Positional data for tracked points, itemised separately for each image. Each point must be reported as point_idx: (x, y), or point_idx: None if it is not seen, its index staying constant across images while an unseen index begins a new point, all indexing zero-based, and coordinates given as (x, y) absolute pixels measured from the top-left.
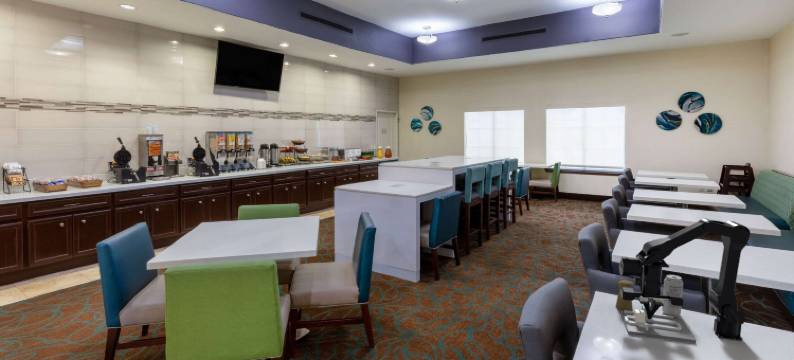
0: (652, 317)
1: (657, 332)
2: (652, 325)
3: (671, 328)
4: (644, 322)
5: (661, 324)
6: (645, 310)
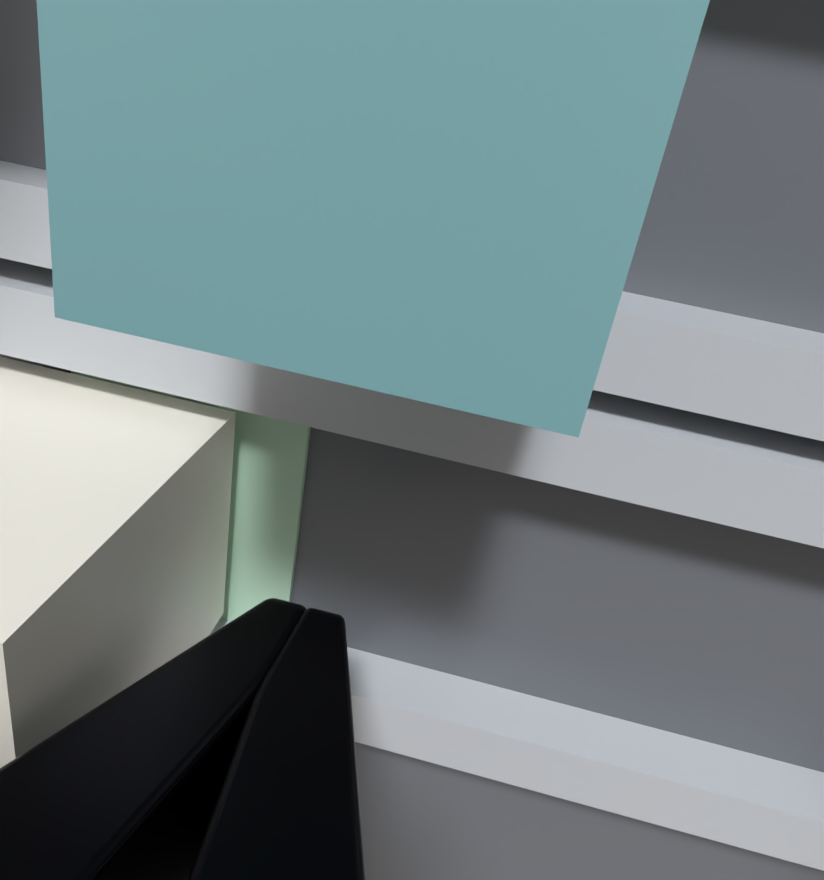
0: (697, 47)
1: (391, 870)
2: (358, 737)
3: (800, 848)
4: (189, 641)
5: (709, 560)
6: (32, 768)
